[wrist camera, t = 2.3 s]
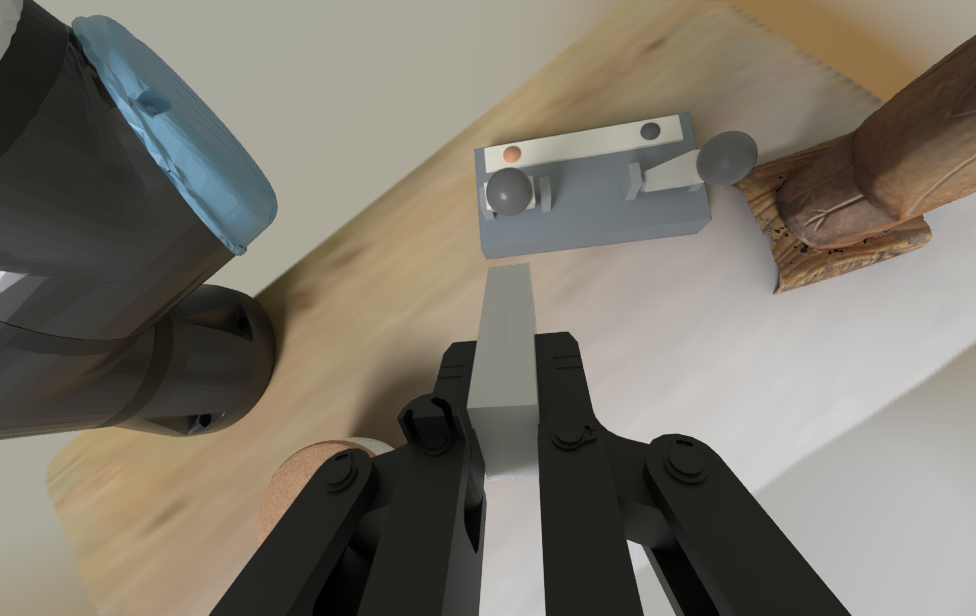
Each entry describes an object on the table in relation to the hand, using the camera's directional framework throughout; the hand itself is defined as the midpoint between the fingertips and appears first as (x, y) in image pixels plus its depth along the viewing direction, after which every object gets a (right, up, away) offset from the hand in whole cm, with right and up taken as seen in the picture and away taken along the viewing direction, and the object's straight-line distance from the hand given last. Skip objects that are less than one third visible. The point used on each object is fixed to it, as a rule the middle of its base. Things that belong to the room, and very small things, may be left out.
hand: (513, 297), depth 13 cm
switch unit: (+8, +10, +20) cm, 24 cm away
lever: (+13, +10, +15) cm, 22 cm away
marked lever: (+1, +9, +17) cm, 19 cm away
